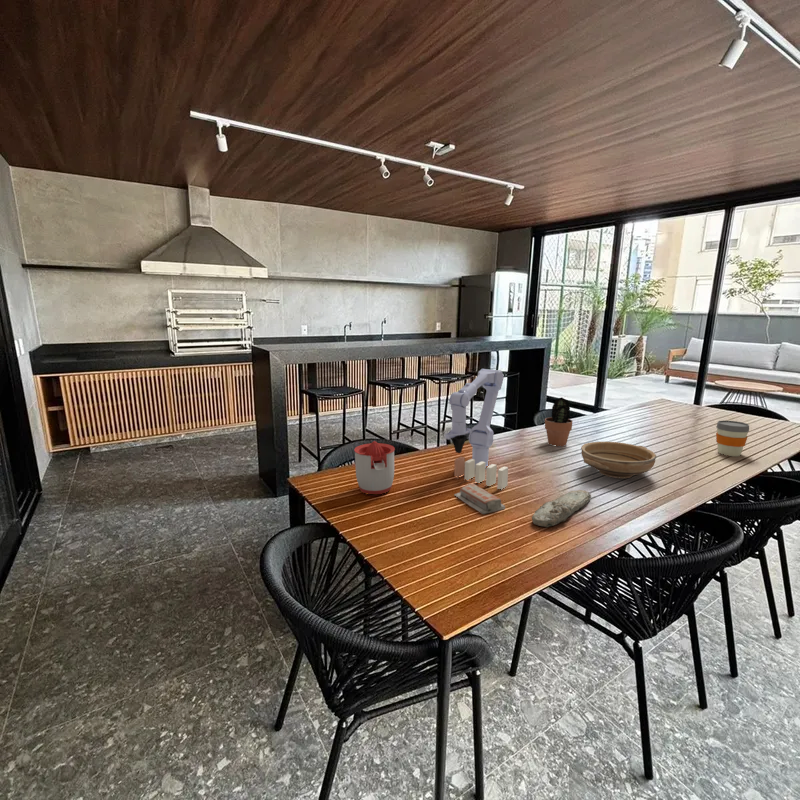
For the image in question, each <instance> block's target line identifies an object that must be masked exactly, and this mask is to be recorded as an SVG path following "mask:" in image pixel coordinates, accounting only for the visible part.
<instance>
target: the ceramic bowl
mask: <svg viewBox="0 0 800 800" xmlns="http://www.w3.org/2000/svg"><path fill="white" fill-rule="evenodd" d="M580 447H581V448H580V449H581V453H580V454H581V457H582V459H583V463H585V464H586V465H588V466H589V467H591V468H592V469H595V470H597V471H598V472H599V473H600V474H601V475H602V476H603V475H604V476H606V477H609V478H612V479H613V478H614V479H630V478H632V477H633V476H637V475H641V474H644V473H648V471H650V470H651V469H653V467H654V465H655V464H656V459H657V454H656V453H655V452H654V451H652V450H650V449H649V448H647V447H645V446H643V445H636V444H630V443H625V442H619V441H618V442H617V441H592V442H588V443H587V442H586V443H583V445H581V446H580Z"/></svg>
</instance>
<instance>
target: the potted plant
mask: <svg viewBox="0 0 800 800" xmlns="http://www.w3.org/2000/svg"><path fill="white" fill-rule="evenodd" d="M570 411H571V407H570V404H569V401H568V400H567V399H565V398H564V397H559V398H557V399H555V400H554V402H553V405H552V407H551V416H550V417H546V418H544V429H545V430H546V438H547V443H549V444H548V445H550V444H552V445H556V446H555V447H558V446H561V447H565V446H567V444H568V439H569V436H570V432H571V431H573V430H572V428H573V420H572V418H571V419H570ZM552 445H551V446H552ZM564 445H565V446H564Z"/></svg>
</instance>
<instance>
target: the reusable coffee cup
mask: <svg viewBox="0 0 800 800" xmlns="http://www.w3.org/2000/svg"><path fill="white" fill-rule="evenodd" d="M749 432H750V424H748V423H746V422H742V421H736V420H718V421H717V423H716V433H715V434H716V436H715V437H716V439H715V440H716V441H715V442H716V443H717V453H718V452H719V453H718V454H720V453H721V454H720V455H723V454H724V456H727V455H729V456H728V457H741V456H740V455H742V453H743V448H744V447H746V444H747V440H748V433H749Z"/></svg>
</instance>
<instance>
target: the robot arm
mask: <svg viewBox="0 0 800 800" xmlns="http://www.w3.org/2000/svg"><path fill="white" fill-rule="evenodd" d="M504 378H505V377H504V374H503V371H502V370H501V369H498V370H497V369H488V368H481V369H480V370H478V372H477V376H476V377H475V379H474V380H472V382H466V383H465V385H463V386H462V387H461V388H459V390H458V391H454V392H453V393H451V394H450V395H449V399H448V402H449V405H450V409H451V429H450V431H449V432H447V433H445V434H444V438H445V439H446V440H451V442H452V444H453V447H454V451H455V453H457V454H462V451H463V447H464V444H465V443H466V440H467V439H468V441H469V444H470V446H471V447H472V451H471V453H472V454H471V455H472V458H471V459H474V460H475V465H476V464H477V463H479V462H481V461H483V462H486V466H488V461H489V455H490V451H489V450H490V449H489V448H491V446H493V443H494V435H495V434H494V433H495V432H494V430H493V429H492V428H491V427H490V426H491V422H492V418H493V414H494V411H495V407H496V404H497V403H496V402H497V399H498V396H499V395H498V394H499V391H500V390H501V389H502V386H503V382H504ZM481 387H482V388H484V389H485V390H486V392H485V396H484V400H483V404H482V408H481V410H480V411H481V412H480V416H479V419H478V423H477V424H476V425H474V426H473V427H472V428H469V427H466V426H467V407H468V406H469V404H470V401H471V399H472V398H473V397H474V396H475V395H476V394H477V392H478V389H479V388H481ZM467 434H469V435H468V436H467Z"/></svg>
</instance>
